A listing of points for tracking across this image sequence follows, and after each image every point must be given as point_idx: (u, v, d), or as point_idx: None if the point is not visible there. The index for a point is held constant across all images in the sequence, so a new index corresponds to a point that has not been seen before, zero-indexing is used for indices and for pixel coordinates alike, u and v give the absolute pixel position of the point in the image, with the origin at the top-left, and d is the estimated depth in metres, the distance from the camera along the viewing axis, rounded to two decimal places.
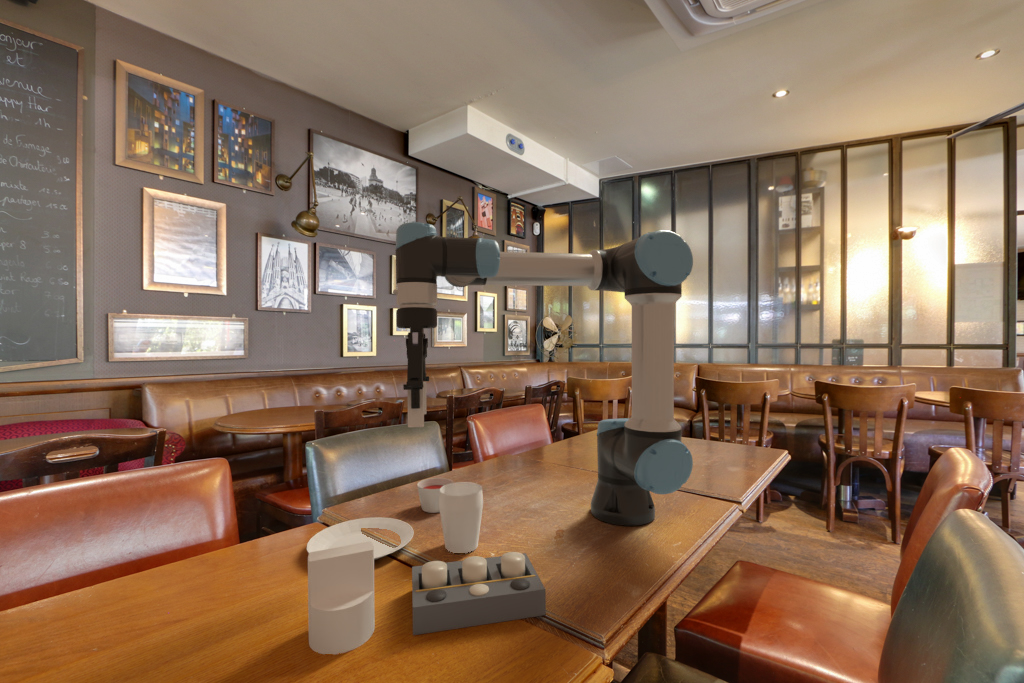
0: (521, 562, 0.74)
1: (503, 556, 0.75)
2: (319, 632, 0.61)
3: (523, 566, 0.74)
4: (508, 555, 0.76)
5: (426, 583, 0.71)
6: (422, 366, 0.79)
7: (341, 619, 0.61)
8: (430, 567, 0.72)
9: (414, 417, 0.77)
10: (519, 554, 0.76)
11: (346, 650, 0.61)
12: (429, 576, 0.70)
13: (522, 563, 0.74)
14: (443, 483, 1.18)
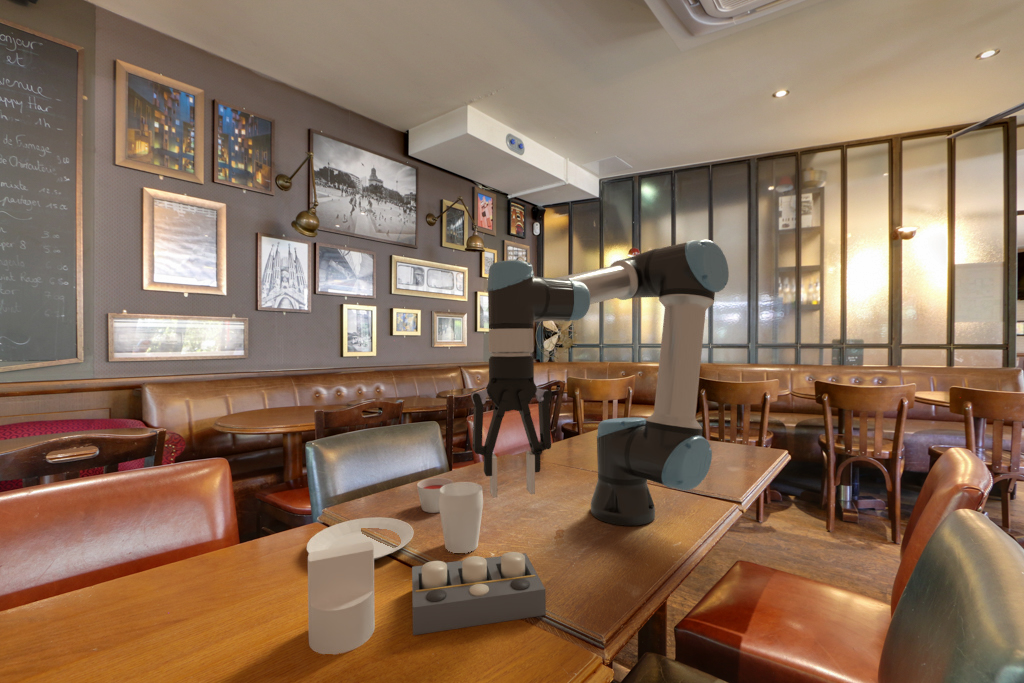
0: (521, 562, 0.74)
1: (503, 556, 0.75)
2: (319, 632, 0.61)
3: (523, 566, 0.74)
4: (508, 555, 0.76)
5: (426, 583, 0.71)
6: (491, 430, 0.73)
7: (341, 619, 0.61)
8: (430, 567, 0.72)
9: (491, 484, 0.75)
10: (519, 554, 0.76)
11: (346, 650, 0.61)
12: (429, 576, 0.70)
13: (522, 563, 0.74)
14: (443, 483, 1.18)
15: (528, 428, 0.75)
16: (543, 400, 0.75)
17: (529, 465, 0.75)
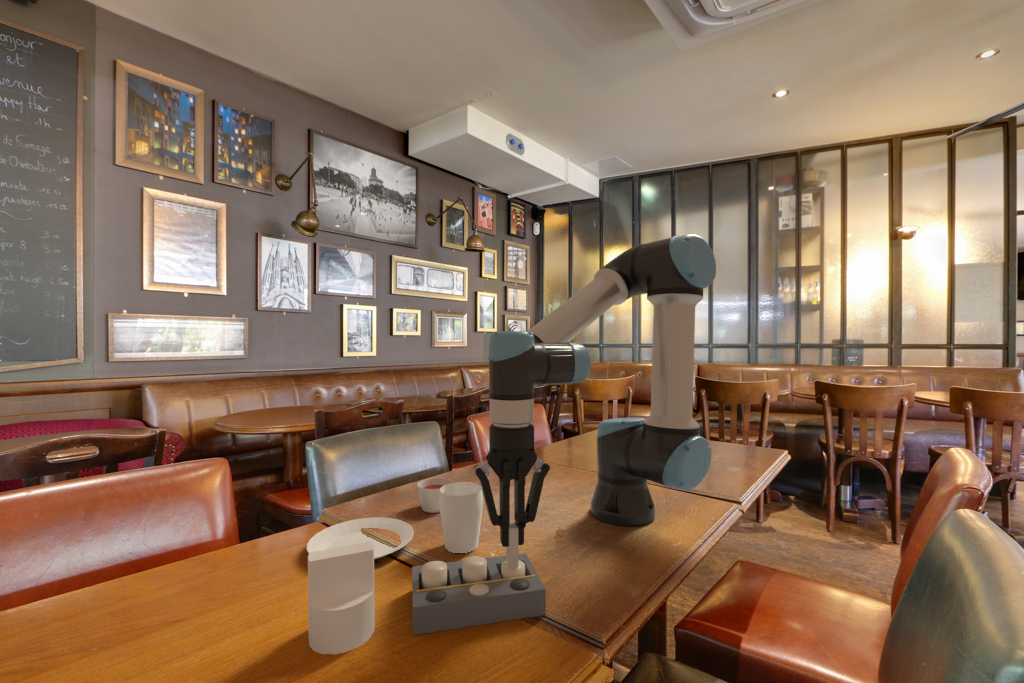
0: (521, 571, 0.74)
1: (503, 564, 0.75)
2: (319, 632, 0.61)
3: (523, 574, 0.74)
4: None
5: (426, 583, 0.71)
6: (502, 502, 0.74)
7: (341, 619, 0.61)
8: (430, 567, 0.72)
9: (507, 553, 0.75)
10: (519, 562, 0.76)
11: (346, 650, 0.61)
12: (429, 576, 0.70)
13: (522, 571, 0.74)
14: (443, 483, 1.18)
15: (518, 499, 0.74)
16: (540, 472, 0.75)
17: None
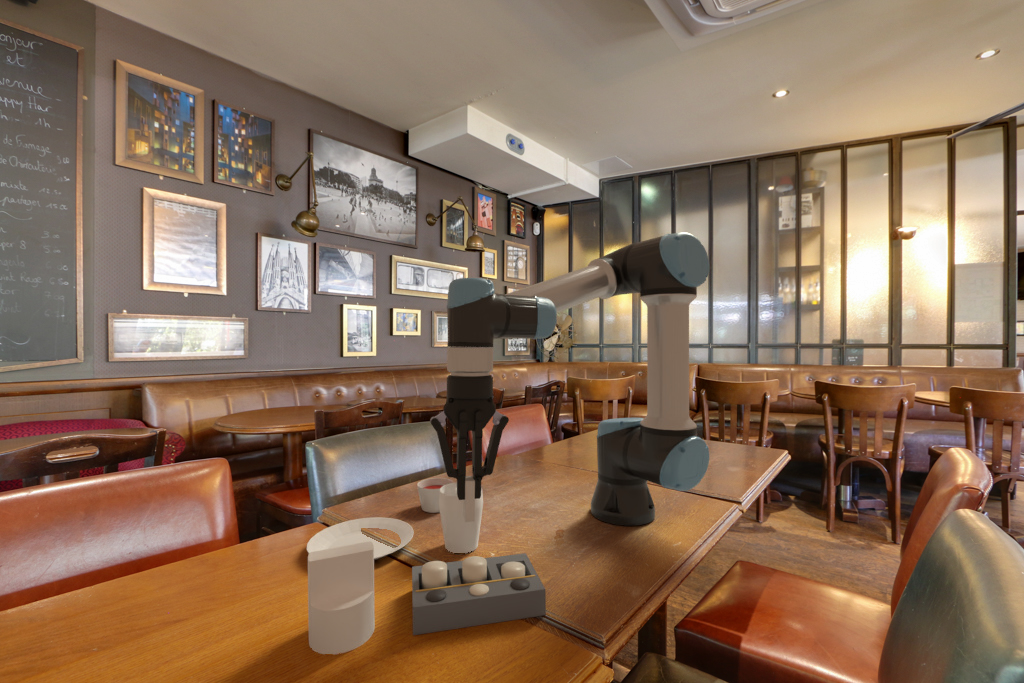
0: (521, 573, 0.74)
1: (503, 566, 0.75)
2: (319, 632, 0.61)
3: None
4: (508, 565, 0.76)
5: (426, 583, 0.71)
6: (458, 453, 0.72)
7: (341, 619, 0.61)
8: (430, 567, 0.72)
9: (464, 508, 0.73)
10: (519, 564, 0.76)
11: (346, 650, 0.61)
12: (429, 576, 0.70)
13: (522, 573, 0.74)
14: (443, 483, 1.18)
15: (475, 451, 0.72)
16: (498, 424, 0.73)
17: None
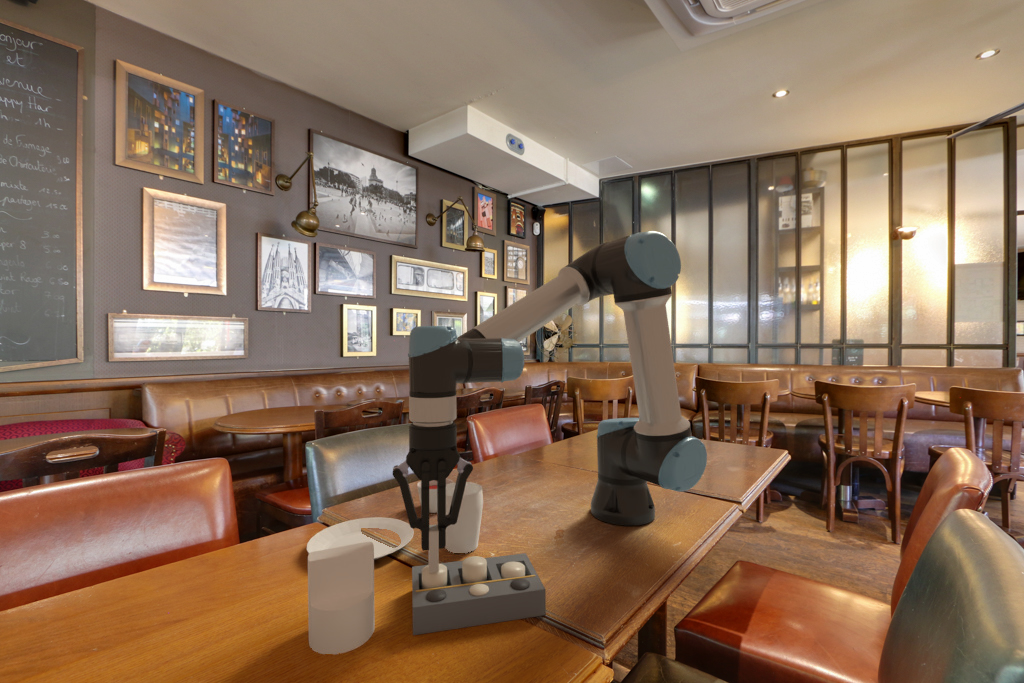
0: (521, 573, 0.74)
1: (503, 566, 0.75)
2: (319, 632, 0.61)
3: None
4: (508, 565, 0.76)
5: (426, 586, 0.71)
6: (421, 504, 0.71)
7: (341, 619, 0.61)
8: None
9: None
10: (519, 564, 0.76)
11: (346, 650, 0.61)
12: (429, 579, 0.70)
13: (522, 573, 0.74)
14: None
15: (439, 500, 0.71)
16: (462, 473, 0.72)
17: None
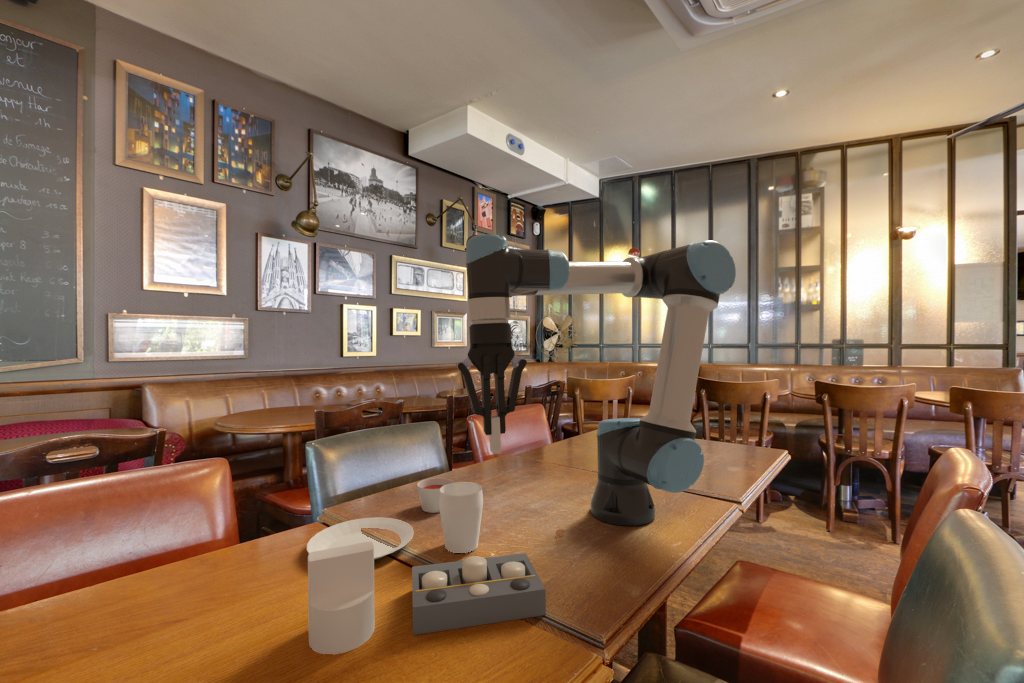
0: (521, 573, 0.74)
1: (503, 566, 0.75)
2: (319, 632, 0.61)
3: None
4: (508, 565, 0.76)
5: None
6: (483, 393, 0.80)
7: (341, 619, 0.61)
8: (430, 577, 0.72)
9: (491, 442, 0.82)
10: (519, 564, 0.76)
11: (346, 650, 0.61)
12: (429, 586, 0.70)
13: (522, 573, 0.74)
14: (443, 483, 1.18)
15: (498, 390, 0.81)
16: (517, 366, 0.81)
17: None
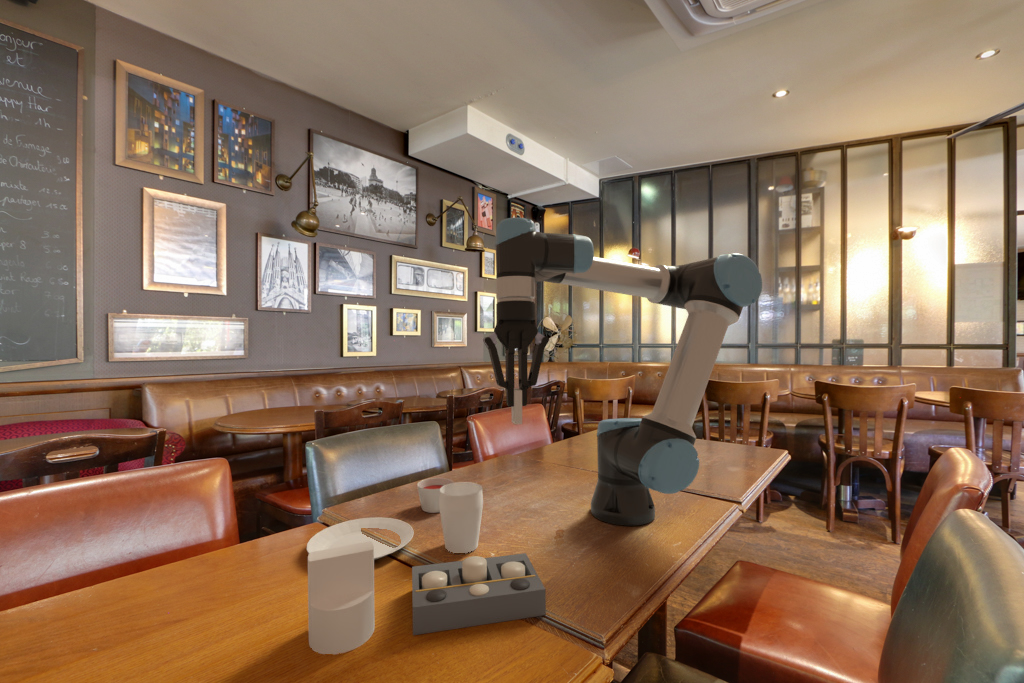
0: (521, 573, 0.74)
1: (503, 566, 0.75)
2: (319, 632, 0.61)
3: None
4: (508, 565, 0.76)
5: None
6: (508, 367, 0.85)
7: (341, 619, 0.61)
8: (430, 577, 0.72)
9: (512, 414, 0.87)
10: (519, 564, 0.76)
11: (346, 650, 0.61)
12: (429, 586, 0.70)
13: (522, 573, 0.74)
14: (443, 483, 1.18)
15: (522, 365, 0.86)
16: (540, 343, 0.86)
17: None
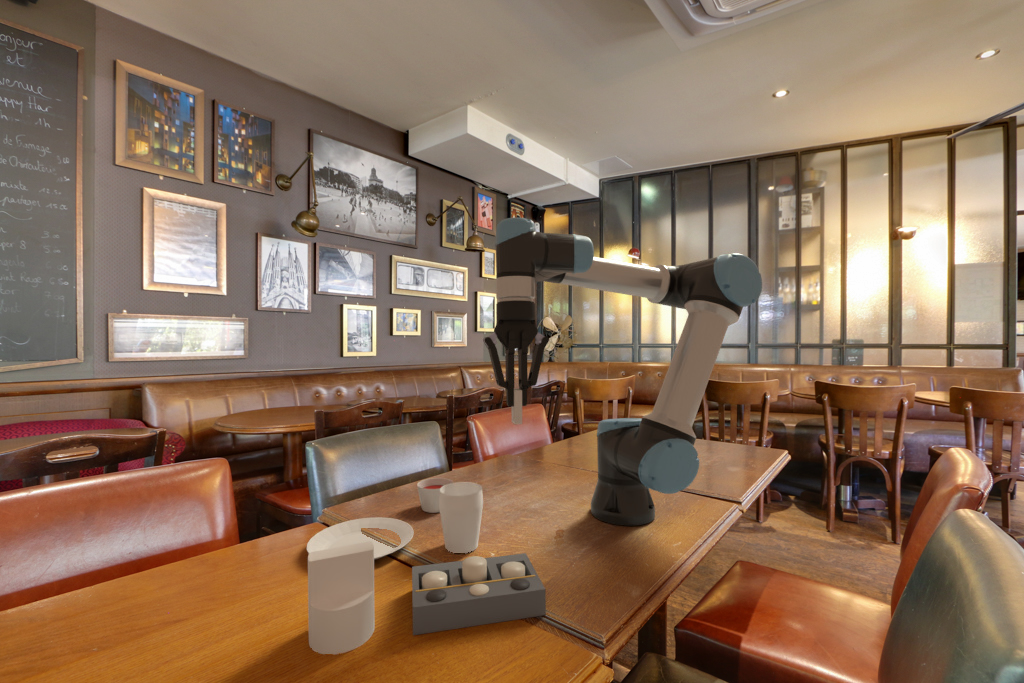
0: (521, 573, 0.74)
1: (503, 566, 0.75)
2: (319, 632, 0.61)
3: None
4: (508, 565, 0.76)
5: None
6: (508, 367, 0.85)
7: (341, 619, 0.61)
8: (430, 577, 0.72)
9: (512, 414, 0.87)
10: (519, 564, 0.76)
11: (346, 650, 0.61)
12: (429, 586, 0.70)
13: (522, 573, 0.74)
14: (443, 483, 1.18)
15: (522, 365, 0.86)
16: (540, 343, 0.86)
17: None
